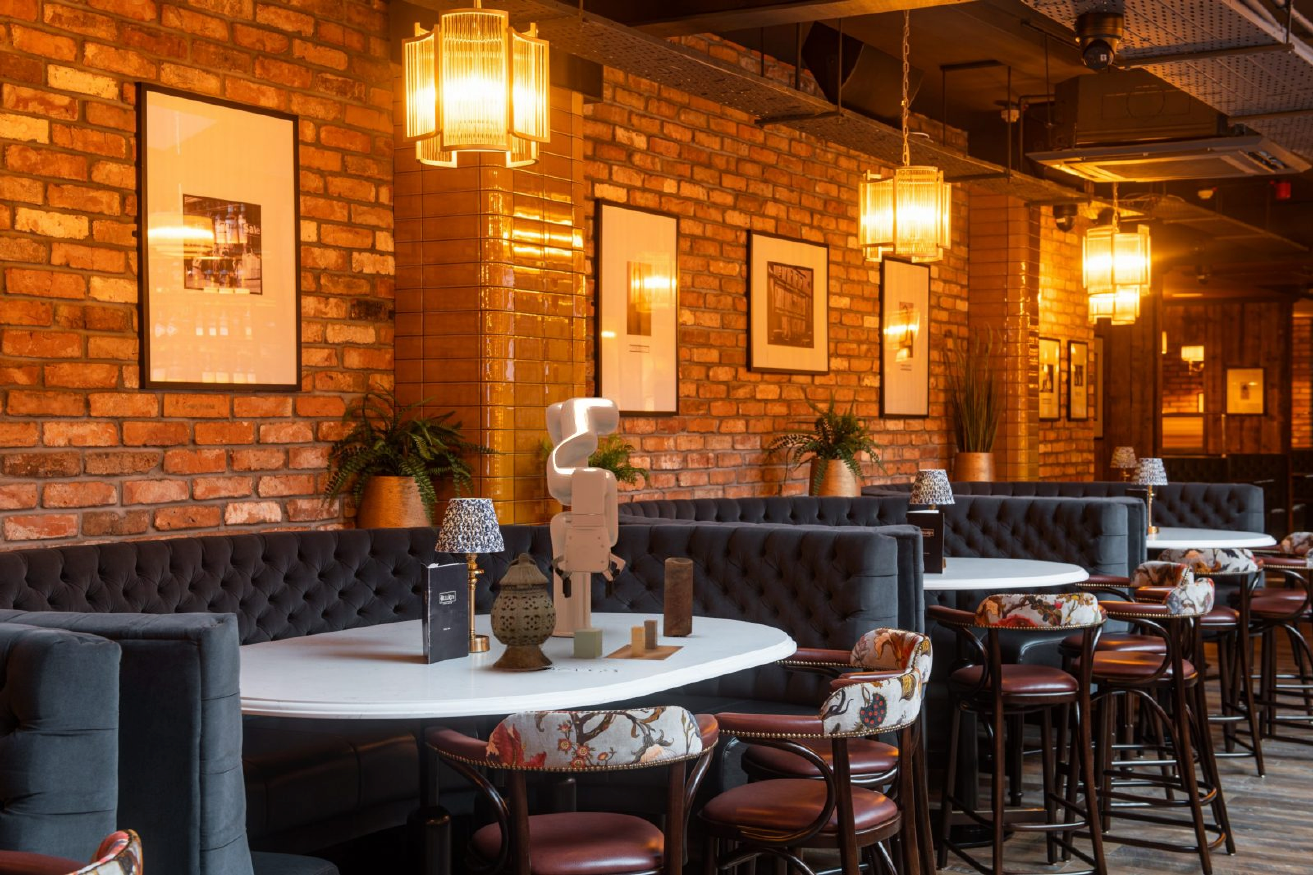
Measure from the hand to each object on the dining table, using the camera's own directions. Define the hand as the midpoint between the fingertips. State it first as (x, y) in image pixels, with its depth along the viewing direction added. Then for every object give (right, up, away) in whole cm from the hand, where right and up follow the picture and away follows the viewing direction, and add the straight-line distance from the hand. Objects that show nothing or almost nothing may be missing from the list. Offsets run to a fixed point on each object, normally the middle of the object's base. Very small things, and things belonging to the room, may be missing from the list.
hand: (588, 597), depth 312 cm
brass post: (+11, -13, +1) cm, 17 cm away
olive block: (0, -14, 0) cm, 14 cm away
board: (+13, -14, +7) cm, 20 cm away
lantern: (-14, -14, -10) cm, 22 cm away
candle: (+21, -15, +36) cm, 44 cm away
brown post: (+14, -13, +12) cm, 23 cm away
